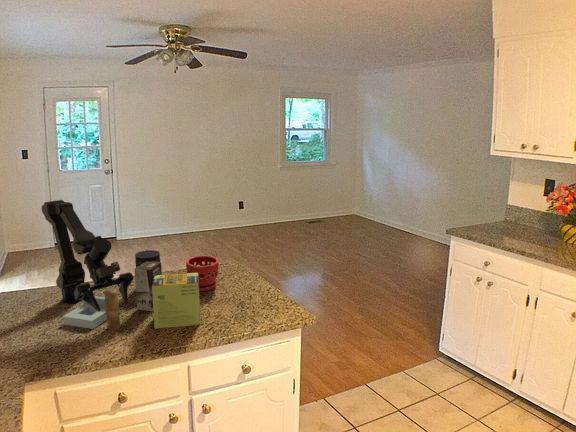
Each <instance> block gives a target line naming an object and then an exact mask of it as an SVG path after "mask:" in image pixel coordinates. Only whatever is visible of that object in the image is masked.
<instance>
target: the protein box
mask: <svg viewBox="0 0 576 432" xmlns="http://www.w3.org/2000/svg"><path fill="white" fill-rule="evenodd" d="M152 296H153V326H154V327H153V328H154V329H163V328H166V329H167V328H178V327H188V326H189V327H191V326H199V325H201V305H200V291H199V280H198V273H187V272H186V273H171V274H162V275H157V276H154V281H153V284H152Z"/></svg>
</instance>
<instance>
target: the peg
mask: <svg viewBox="0 0 576 432" xmlns="http://www.w3.org/2000/svg"><path fill="white" fill-rule="evenodd" d="M104 297H105V304H106V315H107V320H106V322H107V323H106V324H107V330H108V331H116V330H119V329H120V328H121V320H120V318H121V316H120V307H119V306H120V305H119V296H118V290H117V289H115V288H114V289H111V288H110V289H107V290H105V291H104Z"/></svg>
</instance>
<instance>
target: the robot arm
mask: <svg viewBox="0 0 576 432" xmlns="http://www.w3.org/2000/svg"><path fill="white" fill-rule="evenodd" d="M41 213H42V214H43V216H44V218H45V220H46V221H47V222H48V223H49V224H50V225H51V226H52V229H53V230H52V231H53V234H54V238H55V243H56V247H57V249H58V250H57V251H58V253H59V257H60V264H59V267H58V275H57V278H56V281H55V283H56V287H57V288H59V289H61V295H62V299H59V302H60V303H66V304H76V303H77V302H79V301H82V302H84V301H85V302H87V303H88V304H90V305H91V306H92V307H94V308H95V309H96V310H97V311H98V312H100V307H99V305H98V303H97V301H96V299H95V297H94V296H95V294H94V291H99V290H103V289H106V288H109V287H114V286H117V287H119V288H118V291H119V293H120V296H121V298H122V300H123V302H124V303H125V304H126V305H127V304H128V288H129V286H130V285H131V284H132V282H133V280H135V276H134V275H133V273H132V272H130V271H129V272H124V273H120V274H119V275H118V277H117V278H115V279H114V277H115V276H114V275H116V274H117V272H119V271H121V267H120V263H119V262H118V261H115V262H112V263H110V265H108V264H106V262H105V260H106V258H107V256H108V255H109V252H110V251H111V249H112V246H113V245H112V243H111V241H109V240H108V239H106V238H103V237H102V235H97V236H95V234H94V233H93V232H91V231H89V230H87V229H86V227H85V226H84V224H83V222H82V221H81V219H80V218H79V215H78V214H77V213H76V211H75V210H74V205H73V203H72V202H70V201H64V200H63V199H59V200H57V199H56V200H51V201H45V202H44V203H43V204H42V205H41ZM69 233H70V234H69ZM70 235H71V236H72V238H73V241H71V237H70ZM74 252H75V253H76V254H77V255H80V256H82V255H85V257H84V259H83V263H82V262H81V261H79V260H77V259H76V256H75V254H74ZM83 265H85V266H86V268H87V270H88V273H89V278H90V279H91V280H92V283H93V284H91V285H90V282H85V279H86V272H85V270H84V268H83Z"/></svg>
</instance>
